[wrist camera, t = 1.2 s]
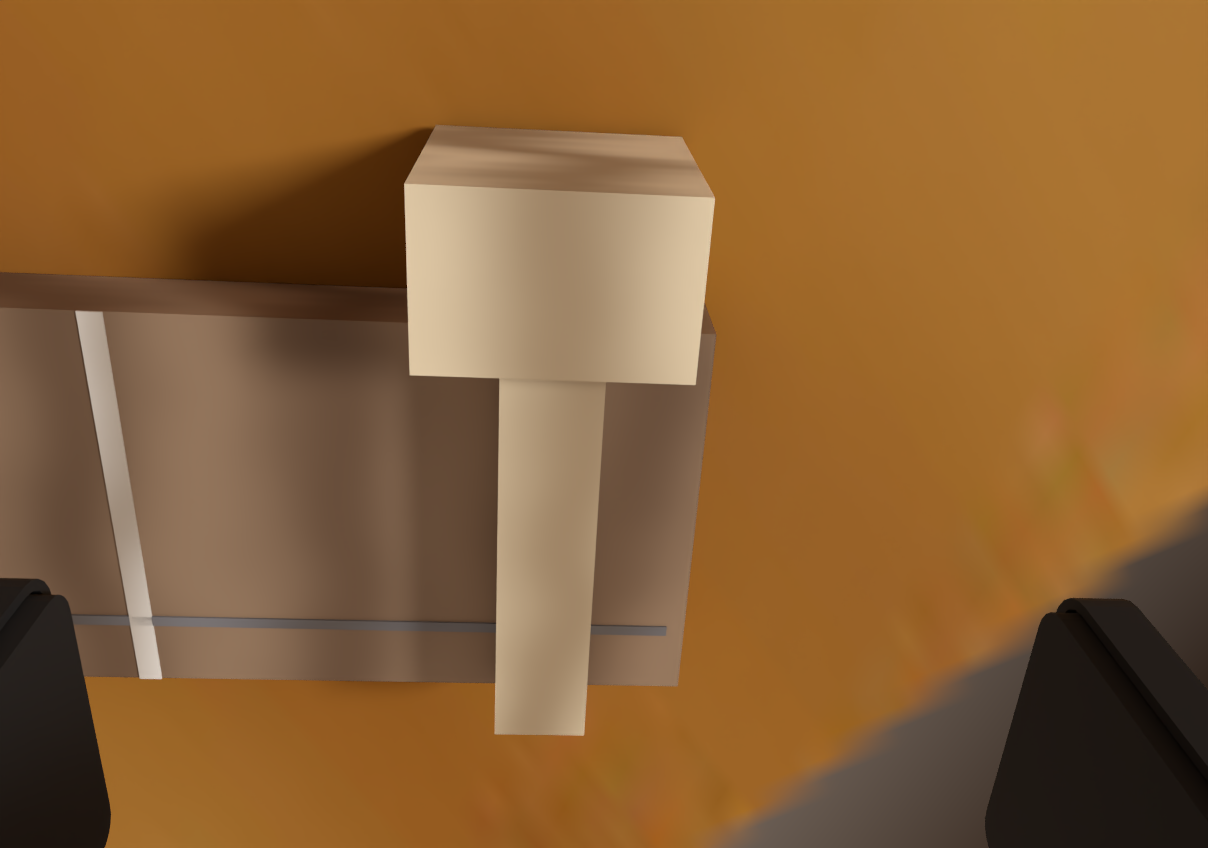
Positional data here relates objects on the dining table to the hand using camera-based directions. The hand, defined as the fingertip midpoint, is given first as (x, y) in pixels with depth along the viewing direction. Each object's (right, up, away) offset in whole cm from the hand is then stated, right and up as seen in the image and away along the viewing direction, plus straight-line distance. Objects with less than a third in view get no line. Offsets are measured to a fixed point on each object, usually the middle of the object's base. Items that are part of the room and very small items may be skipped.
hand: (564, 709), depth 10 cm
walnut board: (-7, +1, +20) cm, 21 cm away
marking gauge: (-1, +3, +19) cm, 19 cm away
